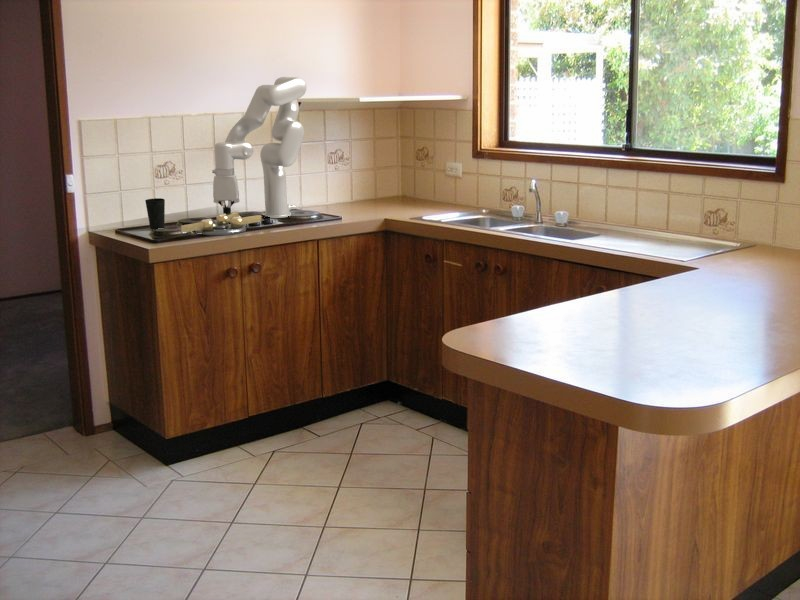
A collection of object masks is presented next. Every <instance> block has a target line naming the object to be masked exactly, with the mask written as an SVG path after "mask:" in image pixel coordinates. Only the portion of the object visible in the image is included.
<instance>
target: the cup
mask: <svg viewBox="0 0 800 600" xmlns="http://www.w3.org/2000/svg"><path fill="white" fill-rule="evenodd" d="M144 201H145V207H146V213H147V218H148V222H149V229H150V230H151V229H158V228H164V229H165V213H166V211H165V209H166V208H165V206H166V203H165V201H166V199H165V198H161V197H160V198H155V197H154V198H148V199H145V200H144Z"/></svg>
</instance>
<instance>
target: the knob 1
mask: <svg viewBox="0 0 800 600" xmlns="http://www.w3.org/2000/svg"><path fill="white" fill-rule="evenodd" d="M237 216H240V213H239V211H233V212H232V211H231V213H229V214H226V213H224V214H223V213H221V214H218V215H216V224H217V225H228V224H229V223H230V222H231V221H230V218H232V217H237Z"/></svg>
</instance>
